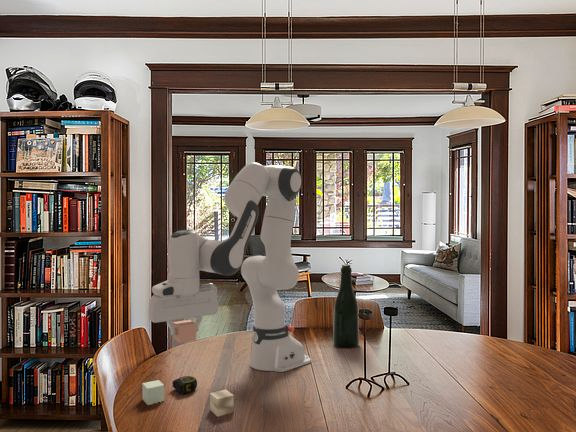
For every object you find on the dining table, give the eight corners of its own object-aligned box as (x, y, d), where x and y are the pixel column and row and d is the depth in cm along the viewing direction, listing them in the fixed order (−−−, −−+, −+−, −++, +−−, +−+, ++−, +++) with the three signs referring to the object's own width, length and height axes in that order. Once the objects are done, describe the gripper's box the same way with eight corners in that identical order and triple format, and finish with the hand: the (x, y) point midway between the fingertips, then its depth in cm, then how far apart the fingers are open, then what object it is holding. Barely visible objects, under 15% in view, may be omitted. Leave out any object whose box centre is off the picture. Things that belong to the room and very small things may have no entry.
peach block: (189, 336, 148) (189, 319, 148) (196, 340, 144) (195, 323, 144) (173, 338, 145) (173, 322, 145) (179, 343, 141) (179, 325, 141)
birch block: (226, 406, 144) (225, 389, 144) (233, 412, 140) (233, 395, 140) (210, 410, 141) (209, 393, 141) (217, 416, 137) (217, 399, 137)
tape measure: (171, 389, 157) (171, 378, 156) (191, 385, 160) (191, 373, 160) (179, 397, 151) (179, 385, 151) (200, 392, 155) (200, 380, 155)
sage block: (158, 395, 152) (158, 379, 152) (164, 401, 148) (164, 385, 147) (142, 399, 149) (142, 383, 149) (147, 405, 145) (147, 388, 145)
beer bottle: (341, 339, 210) (341, 262, 208) (363, 344, 203) (363, 264, 202) (328, 346, 201) (328, 265, 200) (351, 350, 195) (351, 267, 194)
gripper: (212, 281, 152) (213, 325, 153) (146, 287, 141) (147, 335, 142) (221, 284, 147) (221, 330, 147) (153, 291, 136) (153, 341, 136)
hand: (184, 333), depth 144 cm, fingers closed on peach block, 5 cm apart
